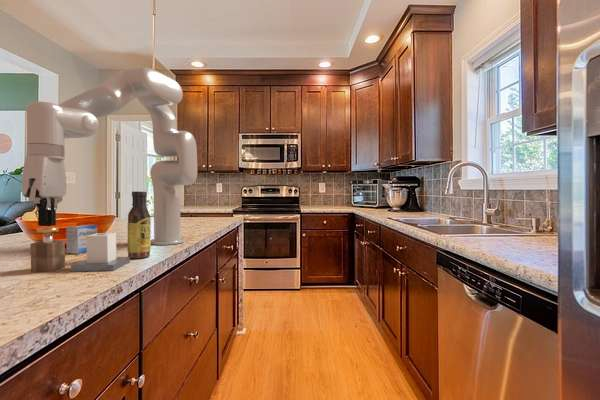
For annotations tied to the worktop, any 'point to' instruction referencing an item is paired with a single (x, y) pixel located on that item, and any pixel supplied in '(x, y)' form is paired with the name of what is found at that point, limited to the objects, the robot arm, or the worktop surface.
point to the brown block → (47, 256)
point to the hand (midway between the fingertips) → (47, 225)
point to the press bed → (101, 265)
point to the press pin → (47, 233)
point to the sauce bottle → (139, 227)
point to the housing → (101, 247)
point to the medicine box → (79, 238)
